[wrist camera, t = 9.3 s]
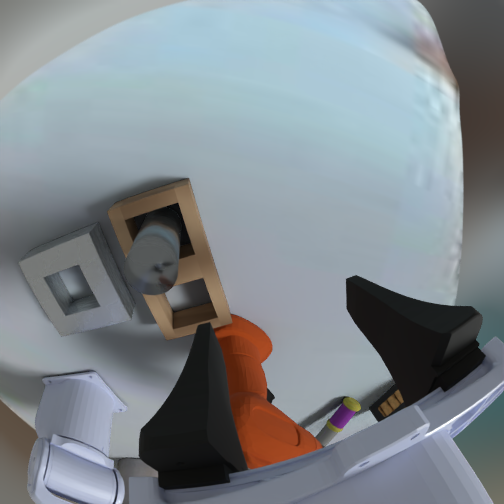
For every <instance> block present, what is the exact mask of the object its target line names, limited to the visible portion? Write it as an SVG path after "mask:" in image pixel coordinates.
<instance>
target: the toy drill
mask: <svg viewBox="0 0 504 504" xmlns="http://www.w3.org/2000/svg"><path fill="white" fill-rule="evenodd" d="M231 318H232V322H233V323H231V324H227V325H224V326H220V327H217V328H213V330H214V332H215V335H216V337H217V339H218V342H219V344H220V347H221V349H222V353H223V357H224V361H225V365H226V372H227V380H228V389H229V397H230V404H231V410H232V414H233V418H234V422H235V426H236V430H237V433H238V437H239V440H240V444H241V447H242V450H243V454H244V457H245V460H246V463H247V466H248V468H250V469H255V468H259V467H263V466H267V465H271V464H275V463H278V462H282V461H285V460H288V459H292V458H295V457H298V456H301V455H304V454H307V453H310V452H313V451H316V450H318V449H321V448H324V446H323V445H321V443H320V442H319V441H318V440H317V439H316V438H315V437H314V436H313V435H312V434H311V433H310V432H308V431H307V430H305V429H304V428H302V427H301V426H299V425H298V424H296V423H295V422H294V421H293V420H292V419H290V418H289V417H288V416H287V415H285V414H284V413H283V412H282V411H280V410H279V409H278V408H276V407H275V406H274V405H272V404H271V403H272V400H273V399H275V397H274V395H273V394H272V393H271V392H270V390H269V389H268V388H267V382H266V378H265V373H264V371H263V369H262V366H261V363H262V362H264V361H265V360H266V359H267V358H268V356H269V355H270V354H271V352H272V343H271V340H270V338H269V337H268V336H267V335H266V333H265V332H264V331H263V330H262V329H260V328H259V327H258V326H256V325H255V324H253V323H251V322H250V321H248V320H246V319H244V318H242V317H239V316H237V315H233V314H231Z"/></svg>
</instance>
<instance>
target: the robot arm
mask: <svg viewBox="0 0 504 504" xmlns="http://www.w3.org/2000/svg"><path fill="white" fill-rule="evenodd" d="M346 297H347V310H348V312H349V314H350V316H351V317H352V319H353V321H354V322H355V324H356V325H357V326H358V328H359V329H360V330H361V332H362V333H363V334H364V335H365V337H366V338H367V339H368V340H369V342H370V343H371V344H372V345H373V347H374V348H375V349H376V351H377V352H378V353H379V355H380V356H381V358H382V360H383V361H384V363H385V365H386V366H387V368H388V370H389V372H390V374H391V376H392V377H393V379H394V381H395V383H396V385H397V387H398V389H399V392H400V394H401V396H402V398H403V401H404V403H405V405H406V408H404V409H402V410H400V411H398V412H397V413H395V414H393V415H391V416H389V417H387V418H386V419H384V420H382V421H380V422H378V423H376V424H374V425H372V426H370V427H368V428H366V429H363V430H361V431H359V432H357V433H355V434H353V435H351V436H349V437H347V438H345V439H344V440H341V441H339V442H336V443H334V444H331V445H329V446H326V447H324V448H321V449H318V450H316V451H313V452H310V453H307V454H304V455H301V456H298V457H295V458H292V459H288V460H285V461H282V462H278V463H275V464H271V465H267V466H263V467H259V468H255V469H251V470H249V469H248V466H247V463H246V460H245V457H244V454H243V450H242V447H241V444H240V440H239V437H238V433H237V430H236V426H235V422H234V418H233V414H232V410H231V404H230V397H229V389H228V380H227V372H226V365H225V361H224V357H223V353H222V349H221V347H220V344H219V342H218V339H217V337H216V335H215V332H214V330H213V327H212V325H211V323H210V322H207V323H204V324H200V325H198V326H197V329H196V334H195V337H194V341H193V344H192V347H191V350H190V353H189V356H188V359H187V361H186V364H185V366H184V369H183V371H182V373H181V375H180V377H179V379H178V381H177V383H176V385H175V387H174V388H173V390H172V392H171V393H170V395H169V396H168V398H167V399H166V401H165V402H164V404H163V405H162V406H161V408H160V409H159V410H158V412H157V413H156V414H155V415H154V416H153V417H152V418H151V419H150V421H149V422H148V423H147V424H146V425H145V426H144V427H143V428H142V429H141V432H140V438H139V457H140V459H141V460H142V461H143V462H144V463H145V464H147V465H148V466H150V467H151V468H153V469H155V470H156V471H158V478H157V477H129V504H493V502H492V500H491V498H490V497H489V495H488V494H487V492H486V490H485V489H484V487H483V485H482V484H481V482H480V481H479V479H478V477H477V476H476V474H475V473H474V471H473V470H472V468H471V467H470V465H469V464H468V462H467V461H466V459H465V457H464V456H463V454H462V453H461V451H460V450H459V448H458V447H457V446H456V444H455V443H454V441H453V440H452V438H454V436H456V435H457V434H458V433H460V432H461V431H462V430H463V429H464V428H465V427H466V426H468V425H469V424H470V423H471V422H472V421H473V420H474V419H475V418H476V417H477V416H479V415H480V414H481V413H482V412H483V411H484V410H485V409H486V408H487V407H488V406H489V405H490V404H491V403H492V402H493V401H494V400H495V399H496V398H497V397H498V396H499V395H500V394H501V393H502V392H503V391H504V344H503V343H502V342H501V341H500V340H499V339H498V338H497V337H494V338H493V339H492V340H491V341H489V342H488V343H487V344H486V345H485V346H484V347H483V348H482V350H480V349H479V348H478V346H479V343H478V342H477V341H476V338H477V335H478V333H479V330H480V328H481V325H482V320H483V319H482V318H483V317H482V315H481V314H480V313H479V312H478V311H477V310H475V309H474V308H473V307H471V306H449V305H440V304H434V303H429V302H424V301H420V300H417V299H413V298H410V297H407V296H404V295H401V294H398V293H396V292H393V291H391V290H388V289H386V288H384V287H381V286H379V285H377V284H375V283H373V282H370V281H368V280H366V279H364V278H362V277H359V276H357V275H355V276H352V277H350V278H347V279H346ZM42 381H43V383H44V384H45V385H46V386H45V389H44V392H43V395H42V398H41V401H40V404H39V407H38V411H37V414H36V418H35V428H36V432H37V435H38V437H39V438H38V439H37V440H36V442H35V444H34V446H33V449H32V452H31V456H30V461H29V467H28V485H27V489H28V491H29V495H30V497H31V498H32V500H33V501H34V502H35V503H36V504H73V503H70V502H67V501H65V500H62V499H60V498H57V497H55V496H53V495H52V494H51V493H53V494H56V495H58V496H60V497H63V498H66V499H68V500H71V501H74V502H76V503H79V504H122V503H123V499H124V494H125V487H124V481H123V478H122V476H121V474H120V472H119V471H118V470H117V469H116V468H114V461H113V460H111V459H109V446H110V435H111V426H112V417H113V413H115V412H125V411H127V407H126V406H125V405H124V404H123V403H122V401H121V400H120V399H119V398H118V397H117V396H116V395H115V394H114V393H113V392H112V390H111V389H110V388H109V387H108V386H107V385H106V384H105V382H104V381H103V380H102V379H101V378H100V376H99V375H98V374H97V373H96V372H93V371H92V372H85V373H78V374H71V375H63V376H55V377H46V378H43V379H42ZM50 492H51V493H50Z"/></svg>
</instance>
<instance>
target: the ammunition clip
mask: <svg viewBox="0 0 504 504" xmlns="http://www.w3.org/2000/svg"><path fill="white" fill-rule="evenodd" d="M404 408H406V405H405V403H404V401H403V398H402V396H401V394H400V392H399V389H398V387H397V385H396V384H395V385H394V386H393V387H392V388H391V389H390V390H388V391H387V392H386V393H385V394H384V395H383V396H382V397H381V398H380V399H378V400H377V401H376V402H375V403H374V404H373V405H371V406H370V407H369V409H370V411H371V412H372V414H373V415H374V417H375V418H376V420H377V421H378V422H380V421H382V420H384V419H386V418H387V417H389V416H391V415H393V414H395V413H397V412H398V411H400V410H402V409H404Z"/></svg>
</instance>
